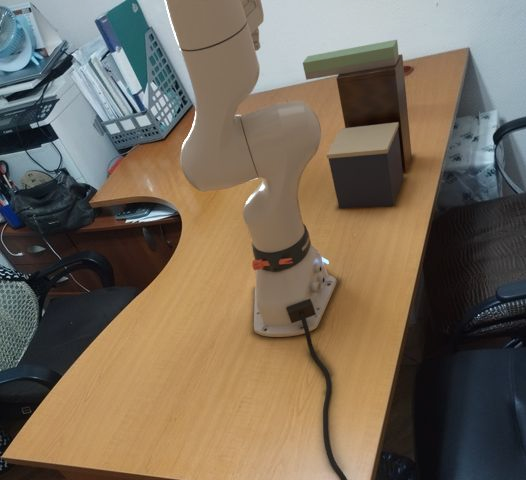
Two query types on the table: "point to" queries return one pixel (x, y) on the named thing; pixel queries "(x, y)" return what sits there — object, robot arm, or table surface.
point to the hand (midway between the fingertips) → (250, 57)
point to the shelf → (377, 101)
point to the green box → (351, 60)
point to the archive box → (366, 165)
